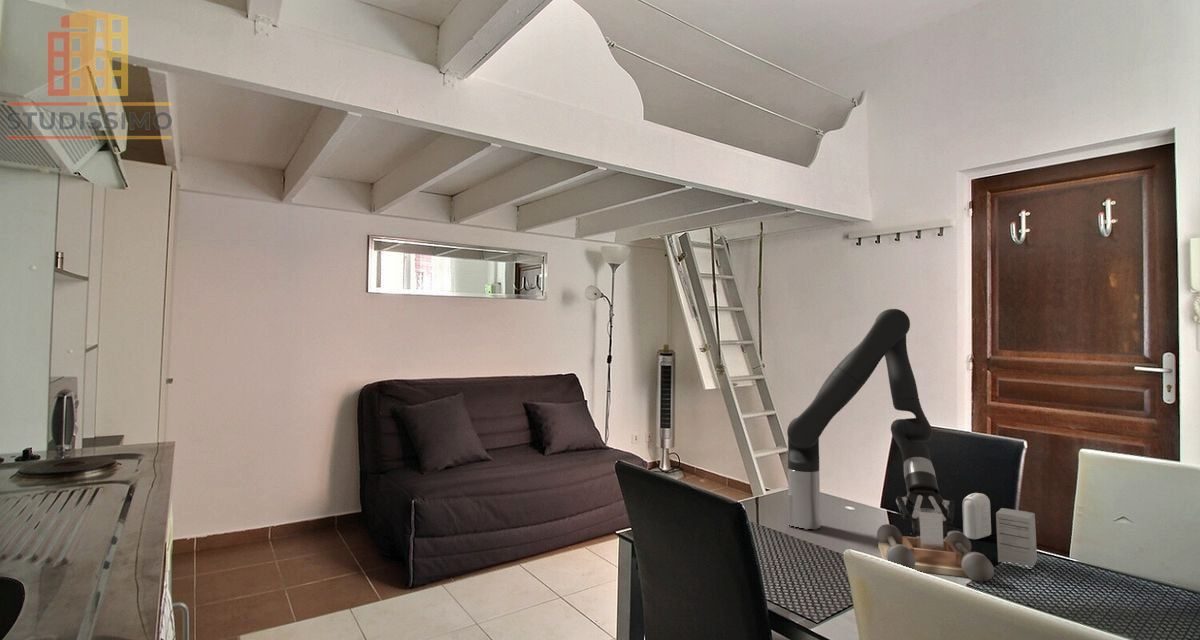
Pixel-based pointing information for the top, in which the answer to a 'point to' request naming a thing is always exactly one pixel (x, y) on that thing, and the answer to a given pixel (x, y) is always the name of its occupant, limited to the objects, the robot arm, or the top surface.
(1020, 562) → the supplement box
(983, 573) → the chassis
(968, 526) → the arched gray pillar
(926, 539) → the beige rectangular block
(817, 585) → the top surface
